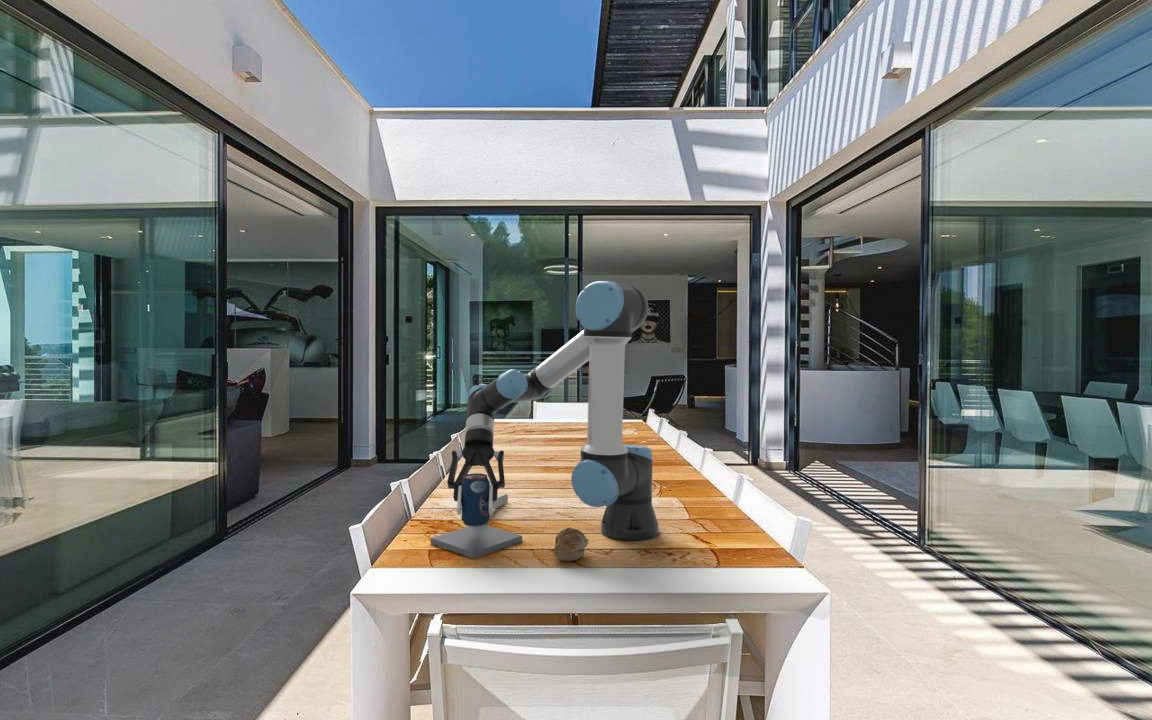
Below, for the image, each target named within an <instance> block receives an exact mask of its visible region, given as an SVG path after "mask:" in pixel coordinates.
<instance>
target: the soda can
mask: <svg viewBox="0 0 1152 720" xmlns="http://www.w3.org/2000/svg"><path fill="white" fill-rule="evenodd" d="M490 485H491V482H490V480H489V477H488V475H487V473H482V472H481V473H480V472H477V473H475V472H473V473H468V474H467V475H465V476H464V480H463V481H462V505H461V521H462V522H463V524H464V525H465V526H466V527H469V526H470V527H479V526H483V525H487V524H488V522H489V520H490V519H491V517H490V516H491V514H489V491H490Z"/></svg>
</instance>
